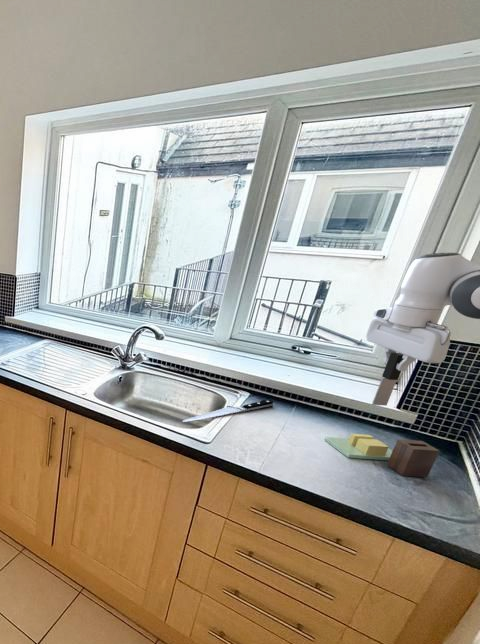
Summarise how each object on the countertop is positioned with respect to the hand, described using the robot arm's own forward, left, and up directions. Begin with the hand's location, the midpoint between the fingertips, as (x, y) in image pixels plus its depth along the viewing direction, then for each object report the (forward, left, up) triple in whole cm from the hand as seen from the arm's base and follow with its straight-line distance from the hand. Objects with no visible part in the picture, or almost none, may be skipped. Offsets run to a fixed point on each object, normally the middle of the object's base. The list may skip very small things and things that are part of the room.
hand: (394, 367), depth 113 cm
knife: (0, 0, -11) cm, 11 cm away
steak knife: (+29, -19, -26) cm, 43 cm away
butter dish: (0, 0, -26) cm, 26 cm away
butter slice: (0, -1, -25) cm, 25 cm away
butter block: (0, +3, -25) cm, 25 cm away
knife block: (-4, +10, -26) cm, 28 cm away
